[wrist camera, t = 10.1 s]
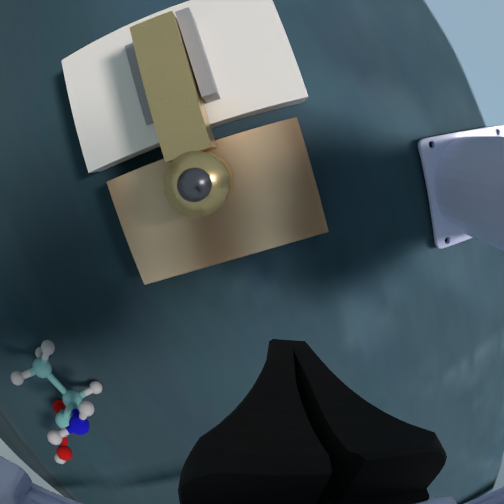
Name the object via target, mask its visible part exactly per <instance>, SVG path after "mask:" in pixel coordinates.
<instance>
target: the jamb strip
mask: <svg viewBox="0 0 504 504" xmlns="http://www.w3.org/2000/svg"><path fill="white" fill-rule="evenodd" d="M215 142H216V146H217V149H214V150H211V151H208V152H211V153H215V154H217V155H219V156H221V157H222V158H224V159H225V160H226V161H227V162H228V164H229V165H230V167H231V169H232V172H233V179H234V180H233V187H232V190H231V192H230V194H229V196H228V197H227V198H226V200H225V201H224V203H223V204H222V205H221V206H220V208H218V209H217V210H216V211H215V212H213V213H212V214H210V215H207V216H204V217H198V218H194V217H187V216H184V215H182V214H180V213H178V212H177V211H176V210H174V209H173V208H172V207H171V206H170V204H169V203H168V201H167V200H166V197H165V195H164V191H163V178H164V174H165V171H166V169H167V167H168V166H169V164H170V163H171V162H165V160H164V159H161V160H159V161H156V162H154V163H151V164H148V165H146V166H143V167H141V168H138V169H136V170H133V171H131V172H129V173H126V174H124V175H121V176H119V177H117V178H114V179H112V180H110V181H107V185H108V188H109V191H110V194H111V197H112V200H113V203H114V206H115V209H116V212H117V215H118V218H119V220H120V223H121V226H122V229H123V231H124V234H125V237H126V240H127V242H128V245H129V247H130V250H131V253H132V255H133V258H134V260H135V263H136V265H137V268H138V270H139V273H140V275H141V278H142V280H143V283H144V285H146V284H149V283H153V282H156V281H160V280H163V279H167V278H170V277H174V276H177V275H181V274H184V273H188V272H191V271H195V270H198V269H202V268H205V267H208V266H212V265H215V264H219V263H222V262H226V261H229V260H233V259H236V258H240V257H243V256H247V255H250V254H254V253H257V252H261V251H264V250H268V249H271V248H275V247H278V246H281V245H285V244H288V243H292V242H295V241H299V240H302V239H306V238H309V237H313V236H316V235H320V234H323V233H326V232H329V231H328V227H327V223H326V219H325V215H324V211H323V207H322V203H321V200H320V196H319V192H318V188H317V185H316V181H315V177H314V174H313V170H312V167H311V163H310V160H309V156H308V153H307V149H306V146H305V142H304V139H303V136H302V133H301V129H300V126H299V123H298V120H297V117H295V118H291V119H287V120H283V121H279V122H276V123H272V124H268V125H265V126H261V127H258V128H254V129H251V130H247V131H244V132H241V133H237V134H234V135H231V136H228V137H225V138H221V139H218V140H215Z"/></svg>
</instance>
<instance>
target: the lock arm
mask: <svg viewBox="0 0 504 504" xmlns="http://www.w3.org/2000/svg"><path fill="white" fill-rule="evenodd" d="M129 28H130V32H131V36H132V41H133V45H134V49H135V53H136V57H137V61H138V65H139V69H140V73H141V77H142V81H143V85H144V89H145V93H146V96H147V100H148V104H149V108H150V111H151V115H152V118H153V122H154V126H155V129H156V133H157V136H158V140H159V143H160V147H161V150H162V153H163V157H164V160H165V162H171V163H170V164H169V166H168V167H167V169H166V171H165V174H164V178H163V191H164V195H165V197H166V200H167V201H168V203H169V204H170V206H171V207H172V208H173V209H174V210H176V211H177V212H178V213H180V214H182V215H184V216H187V217H194V218H198V217H204V216H207V215H210V214H212V213H213V212H215V211H216V210H217V209H218V208H220V206H221V205H222V204H223V203H224V201H225V200H226V198H227V197H228V196H229V194H230V192H231V190H232V187H233V180H234V179H233V172H232V169H231V167H230V165H229V164H228V162H227V161H226V160H225V159H224V158H222V157H221V156H219V155H217V154H215V153H211V152H208V151H211V150H214V149H217V146H216V142H215V139H214V135H213V132H212V129H211V125H210V122H209V119H208V115H207V112H206V108H205V105H204V102H203V98H202V97H201V94H200V90H199V87H198V84H197V81H196V78H195V75H194V71H193V68H192V65H191V62H190V59H189V55H188V52H187V49H186V46H185V43H184V40H183V36H182V33H181V30H180V27H179V24H178V21H177V18H176V17H175V15H174V13H173V12H172V11H170V12H167V13H164V14H161V15H159V16H156V17H153V18H151V19H148V20H146V21H143V22H141V23H139V24H136V25H134V26H132V27H129Z"/></svg>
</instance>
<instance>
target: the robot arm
mask: <svg viewBox="0 0 504 504" xmlns="http://www.w3.org/2000/svg"><path fill="white" fill-rule="evenodd" d="M496 131H497V134H496ZM429 142H431V143H432V147H431V148H430V147H429ZM418 149H419V153H420V158H421V162H422V167H423V172H424V177H425V182H426V188H427V193H428V199H429V205H430V212H431V219H432V226H433V234H434V242H435V246H436V247H438V248H440V249H443V248H446V247H448V246H451V245H454V244H457V243H460V242H462V241H465V240H468V239H470V238H475V239H477V240H479V241H482V242H484V243H486V244H488V245H490V246H492V247H494V248H497V249H499V250H501V251H503V252H504V125H497V126H490V127H484V128H478V129H472V130H466V131H460V132H455V133H449V134H444V135H439V136H433V137H428V138H423V139H421V140H419V142H418ZM446 238H448V239H447V242H445V239H446ZM446 458H447V456H446V453H445V451H444V449H443V447H442V445H441V443H440V441H439V439H438V438H437V436H436V434H435V433H434V432H432V431H428V430H425V429H422V428H419V427H416V426H414V425H411V424H408V423H406V422H404V421H401V420H399V419H397V418H395V417H393V416H391V415H389V414H387V413H385V412H383V411H382V410H380V409H378V408H376V407H375V406H373V405H371V404H370V403H368V402H367V401H365V400H364V399H363V398H361V397H360V396H359V395H357V394H356V393H355V392H353V391H352V390H351V389H350V388H348V387H347V386H346V385H345V384H344V383H343V382H342V381H341V380H340V379H338V378H337V377H336V376H335V375H334V374H333V373H332V372H331V371H330V370H329V368H328V367H327V366H326V365H325V364H324V363H323V362H322V361H321V360H320V358H319V357H318V356H317V355H316V354H315V353H314V351H313V350H312V349H311V348H310V347H309V345H308V344H307V343H306V342H305V341H291V340H278V339H272V340H271V341H269V347H268V354H267V360H266V362H265V365H264V367H263V370H262V372H261V373H260V375H259V377H258V379H257V381H256V383H255V384H254V386H253V387H252V389H251V390H250V392H249V393H248V394H247V396H246V397H245V398H244V399H243V401H242V402H241V403H240V404H239V405H238V406H237V408H236V409H235V410H234V411H233V412H232V413H231V414H230V415H228V416H227V417H226V418H225V419H224V420H223V421H222V422H221V423H220V424H218V425H217V426H216V427H214V428H213V429H211V430H210V431H209V432H207V433H206V434H204V435H203V436H201V437H200V438H199V440H198V441H197V443H196V444H195V446H194V447H193V449H192V451H191V452H190V454H189V456H188V458H187V460H186V462H185V464H184V466H183V469H182V472H181V476H180V482H179V488H178V494H179V501H180V504H457V503H456V501H455V500H454V499H453V498H452V497H441V498H435V499H431V500H428V499H429V494H428V492H427V489H426V488H427V487H428V486H429V485H430V484H431V482H432V481H433V480H434V479H435V477H436V476H437V475H438V474H439V472H440V471H441V469H442V468H443V466H444V464H445V462H446ZM0 504H81V503H79V502H76V501H73V500H71V499H68V498H66V497H63V496H61V495H58V494H56V493H54V492H51V491H49V490H47V489H44V488H42V487H40V486H38V485H36V484H34V483H32V481H31V479H30V477H29V476H28V474H27V473H26V472H25V471H24V470H23V469H22V468H21V467H19V466H18V465H16V464H14V463H12V462H10V461H9V460H7V459H5V458H3V457H1V456H0ZM464 504H504V487H502V488H500V489H498V490H496V491H494V492H491V493H489V494H487V495H484V496H482V497H479V498H477V499H475V500H472V501H469V502H467V503H464Z"/></svg>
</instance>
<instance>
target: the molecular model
mask: <svg viewBox="0 0 504 504" xmlns="http://www.w3.org/2000/svg"><path fill="white" fill-rule="evenodd" d="M54 351H55V346H54V344H53V342H52V341H50V340H45V341H43V342H42V344H41V347H38V348H37V349H36V351H35V355H36V357H37V358H36V359H35V360H34V362H33V365H32V367H33V368H31V369H28V370H26V371H24V372H21V373H20V372H19V371H14V372H13V373H12V374H11V380H12V382H13V383H14V384H15V385H21V384H22V383H23V381H24V379H26V378H28V377H31V376H33V375H35V374H36V375H37V376H38V377H40V378H46V377H47V378H48V379H49V380H50V382H51V383H52V384H53V385H54V386H55V387H56V388H57V389H58V390H59V391H60V392H61V393H62V394H63V397H62V399H63V400H60V399H58V400H55V401H54V402H53V409H54V411H55V412H56V413H57V414H56V417H55V420H56V423H57V425H58V426H59V427H60V428H61V430H59V431H57V430H51V431H49V432H48V435H47V437H48V440H49V442H50V443H52V444H54V445H58V444H60V443H61V445H60V446H59V447H58V448H57V451H56V452H57V453H56V454H55V456H54V458H55V461H56V462H57V463H59V464H64V463H65V462H66V461H67V460H70V459H71V458H72V451H71V449H70V448H69V447H68V446H67V435H69V434H71V433H73V432H74V433H75V434H78V435H83V434H85V433H87V432H88V430H89V422H88V420H87V419H86V418H87V416H91V415H92V414H93V413H94V406H93V404H92V403H91V402H89V401H86V400H85V401H82V398H84V397H86V396H88V395H89V394H91V393H94V394H99V393H100V392H101V391H102V385H101V384H100V383H99V382H98V381H93V382H91V383H90V385H89V387H88V388H86V389H84V390H82V391H80V392H77V391H76V390H73V389H69V390H67V389H66V388H65V387H64V386H63V385H62V384H61V383H60V382H59V381H58V380H57V379H56V378H55V376H54V375H53V374H52V373H51V372H52V366H51V363H50V362H49V361H48V358H49V355H51V354H52V353H53V352H54ZM78 408H79V410H78ZM71 410H72V414H73V416H71V415H70V413H71ZM79 411H80V414H79Z"/></svg>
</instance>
